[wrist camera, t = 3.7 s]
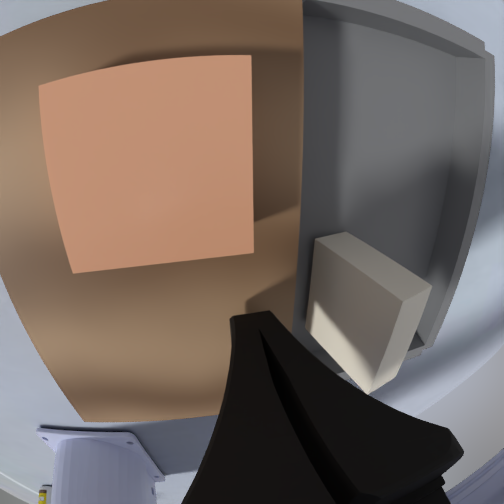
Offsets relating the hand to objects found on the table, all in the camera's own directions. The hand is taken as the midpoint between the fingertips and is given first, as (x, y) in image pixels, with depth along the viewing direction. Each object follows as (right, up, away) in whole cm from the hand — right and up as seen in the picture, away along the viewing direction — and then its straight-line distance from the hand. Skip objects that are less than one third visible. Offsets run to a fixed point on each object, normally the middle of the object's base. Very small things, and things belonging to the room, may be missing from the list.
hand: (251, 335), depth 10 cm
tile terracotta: (-2, +5, -3) cm, 6 cm away
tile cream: (+3, 0, +1) cm, 4 cm away
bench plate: (-4, +3, +1) cm, 5 cm away
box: (+5, +5, +2) cm, 7 cm away
